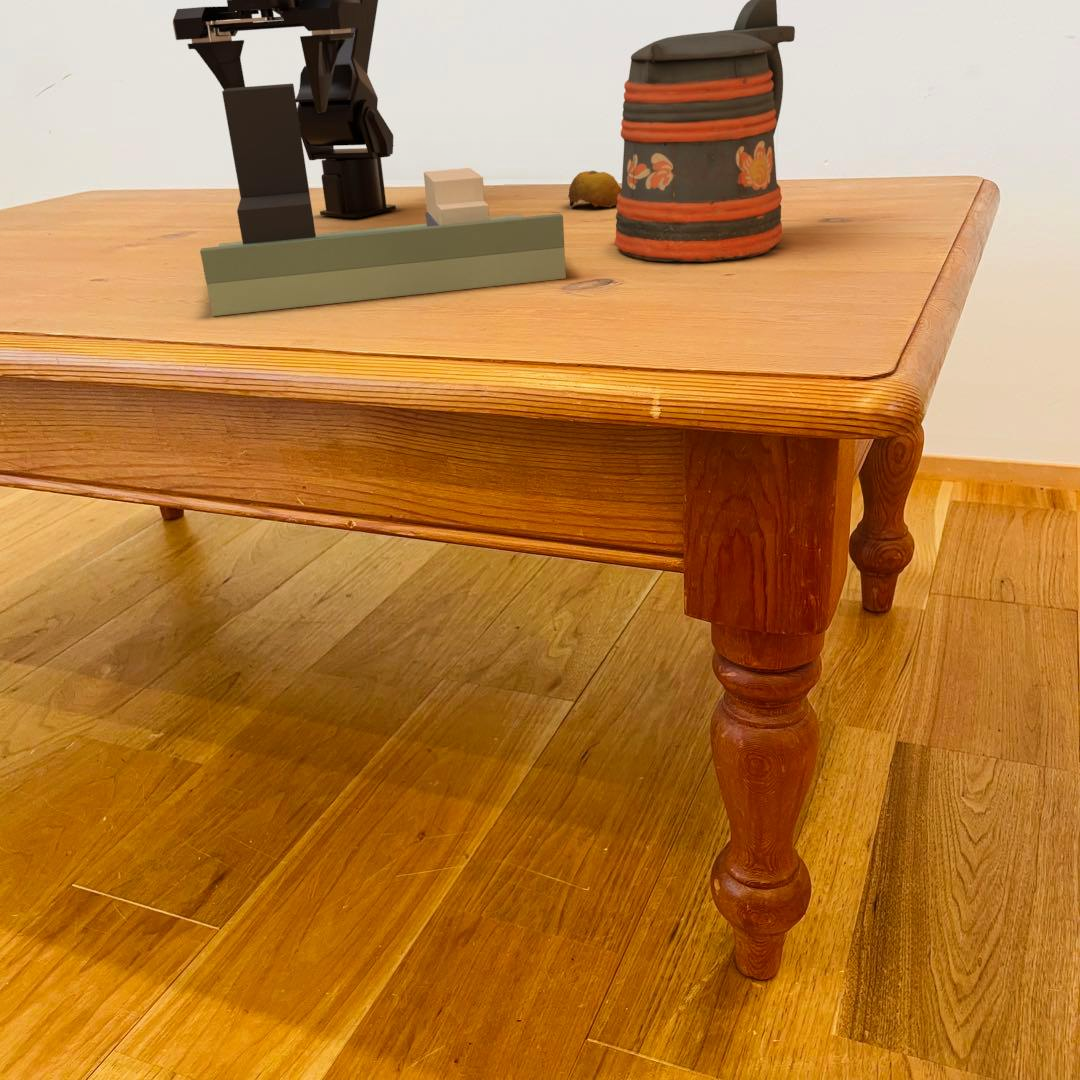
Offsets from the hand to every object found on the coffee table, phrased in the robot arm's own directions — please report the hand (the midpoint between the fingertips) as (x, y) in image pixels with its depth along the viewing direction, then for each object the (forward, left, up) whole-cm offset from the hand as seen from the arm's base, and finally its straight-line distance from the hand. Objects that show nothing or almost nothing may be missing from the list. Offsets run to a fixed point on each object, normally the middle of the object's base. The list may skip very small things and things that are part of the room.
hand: (282, 113), depth 109 cm
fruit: (-27, +21, -12) cm, 36 cm away
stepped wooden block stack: (+5, +27, -10) cm, 29 cm away
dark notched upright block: (+18, +20, -10) cm, 29 cm away
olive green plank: (+11, +24, -12) cm, 29 cm away
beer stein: (-12, +43, -12) cm, 46 cm away
